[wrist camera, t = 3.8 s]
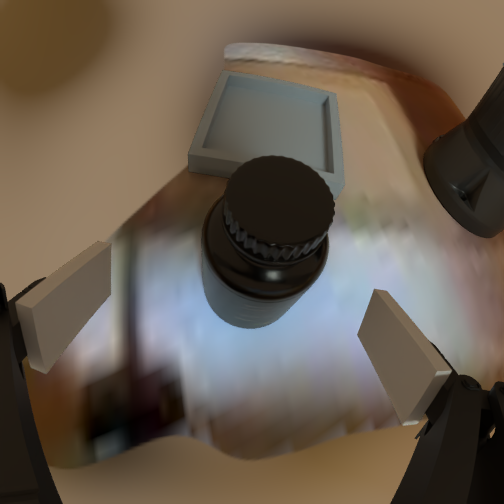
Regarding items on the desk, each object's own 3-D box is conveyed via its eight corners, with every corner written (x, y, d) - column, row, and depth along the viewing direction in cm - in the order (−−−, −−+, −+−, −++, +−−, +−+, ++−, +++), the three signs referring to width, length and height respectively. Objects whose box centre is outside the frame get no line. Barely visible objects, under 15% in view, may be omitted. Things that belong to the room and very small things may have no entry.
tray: (330, 107, 35) (336, 93, 33) (335, 199, 28) (344, 184, 26) (221, 85, 34) (222, 69, 32) (188, 171, 27) (187, 153, 25)
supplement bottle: (194, 256, 24) (186, 146, 13) (275, 239, 26) (320, 132, 15) (216, 342, 21) (223, 289, 11) (303, 318, 23) (383, 248, 12)
